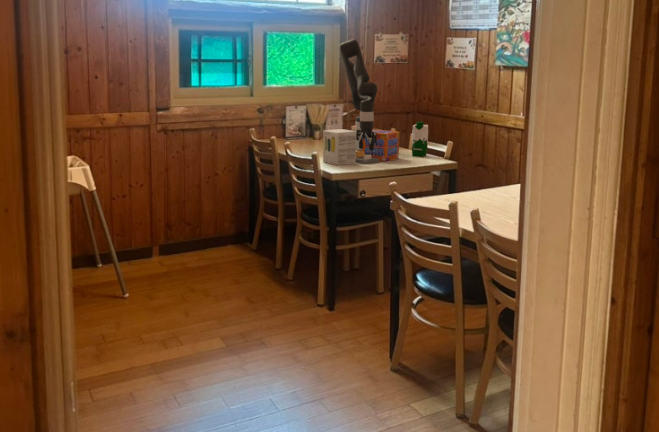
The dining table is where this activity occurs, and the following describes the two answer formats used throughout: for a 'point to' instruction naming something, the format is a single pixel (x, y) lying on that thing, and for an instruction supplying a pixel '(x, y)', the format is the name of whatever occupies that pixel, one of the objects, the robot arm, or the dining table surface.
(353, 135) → the supplement box
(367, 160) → the breaker panel
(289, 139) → the dining table surface
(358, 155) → the breaker paddle
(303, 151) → the dining table surface
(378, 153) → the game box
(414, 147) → the milk carton
